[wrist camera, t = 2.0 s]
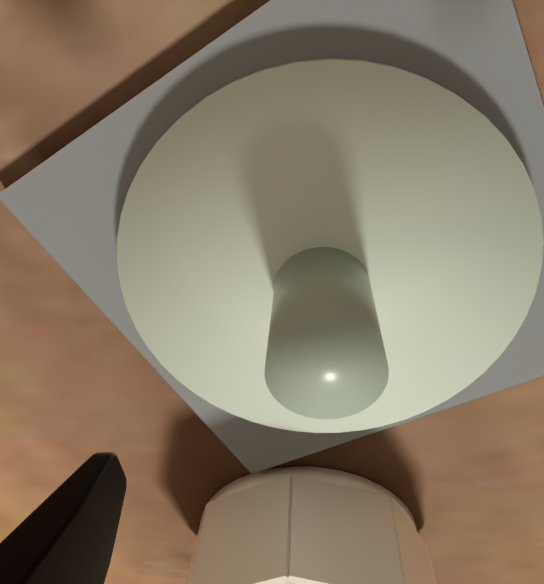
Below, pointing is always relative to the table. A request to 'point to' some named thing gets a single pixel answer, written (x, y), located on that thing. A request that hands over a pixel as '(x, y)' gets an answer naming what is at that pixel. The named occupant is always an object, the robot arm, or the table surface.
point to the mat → (248, 59)
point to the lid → (329, 246)
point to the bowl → (308, 532)
